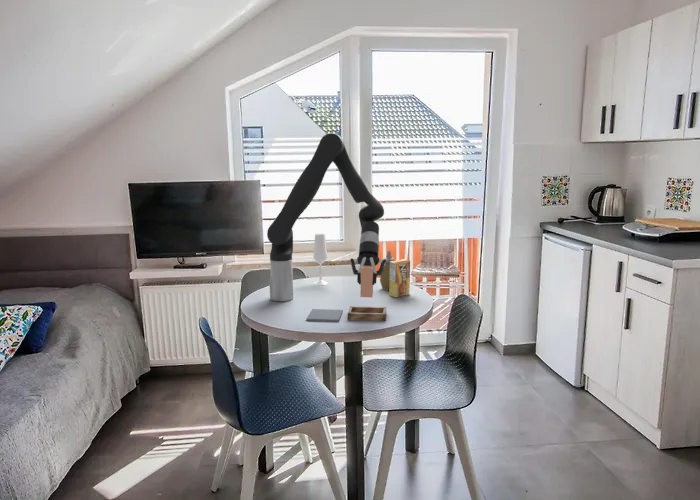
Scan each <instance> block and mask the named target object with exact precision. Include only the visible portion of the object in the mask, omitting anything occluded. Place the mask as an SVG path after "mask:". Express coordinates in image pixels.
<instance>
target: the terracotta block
mask: <svg viewBox="0 0 700 500" xmlns="http://www.w3.org/2000/svg"><path fill="white" fill-rule="evenodd" d="M372 281H373V266H361V285H360V289H359V290H360V291H359V292H360V294H359V295H360V298H373V296H374V285H373V284H372Z"/></svg>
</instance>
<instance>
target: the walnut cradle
mask: <svg viewBox="0 0 700 500" xmlns="http://www.w3.org/2000/svg"><path fill="white" fill-rule="evenodd" d="M347 320H349V321H379V322H380V321H381V322H382V321H383V322H386V320H387V306H361V305H360V306H359V305H356V306H355V305H352V306H349V307H348V311H347Z"/></svg>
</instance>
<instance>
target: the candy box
mask: <svg viewBox="0 0 700 500" xmlns="http://www.w3.org/2000/svg"><path fill="white" fill-rule="evenodd" d="M410 282H411V260H409V259H406V258H402V259H397V260H394V261H391V262H390V284H389V290H388V291H389V292H388V293H389V297H393V298H398V297H402V296H406V295H410V288H411V287H410V286H411V285H410Z"/></svg>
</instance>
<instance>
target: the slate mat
mask: <svg viewBox="0 0 700 500" xmlns="http://www.w3.org/2000/svg"><path fill="white" fill-rule="evenodd" d="M342 314H343V309H329V308H328V309H326V308H325V309H324V308H318V309H317V308H312V309H311V310H310V312H309V314H308V316H307V317H306V319H305V321H306V322H329V323H330V322H331V323H332V322H334V323H339V321H340V319H341V317H342Z"/></svg>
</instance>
